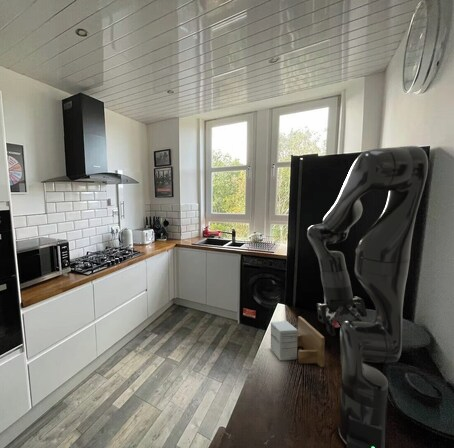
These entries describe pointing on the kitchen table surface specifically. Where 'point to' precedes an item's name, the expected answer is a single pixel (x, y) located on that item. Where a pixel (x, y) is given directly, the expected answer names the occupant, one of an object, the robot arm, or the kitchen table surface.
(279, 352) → the white packaging box
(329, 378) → the kitchen table surface
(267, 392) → the kitchen table surface
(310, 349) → the wooden stand
